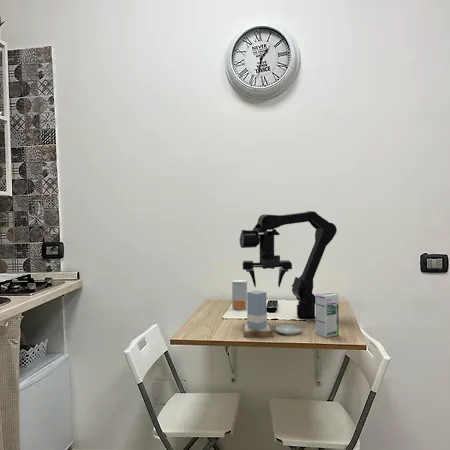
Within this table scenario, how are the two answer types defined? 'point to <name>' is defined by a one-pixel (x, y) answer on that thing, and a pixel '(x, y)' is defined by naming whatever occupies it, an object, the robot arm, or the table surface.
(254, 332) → the tray
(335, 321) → the syrup box
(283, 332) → the saucer
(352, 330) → the table surface
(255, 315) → the carton
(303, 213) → the robot arm
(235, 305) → the skincare box
